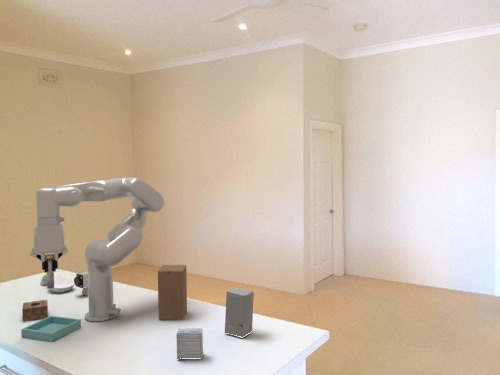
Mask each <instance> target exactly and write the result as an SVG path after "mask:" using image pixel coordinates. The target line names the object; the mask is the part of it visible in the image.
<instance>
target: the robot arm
mask: <svg viewBox="0 0 500 375" xmlns="http://www.w3.org/2000/svg"><path fill="white" fill-rule="evenodd" d="M35 198H36V199H35V200H36V204H35V205H36V224H37V225H34V230H33V247H32V249H31V251H30V253H29V254H30V256H31V257H33V258H36V259H38V260H40V262H41V270H42V271H44V273H45V274H47V273H46V272H47V265H46V259H45V255H46V254H54V256H55V258H53V268H54V273H55V272H56V271H57V269H59V266H58V265H59V262H58V260H59V259H60V258H61V257H62V256H63V255H65V254H68V253H69V250H68V247H67V246H66V244H65V233H64V227H63V224H62V223H61V222H64V221H65V217H61V216H60V214H61V213H60V211H61V210H60V207H76V206H78V205H79V204H81V203H82V202H96V203H97V202H107V201H111V200H117V199H124V198H132V199H131V203H130V206H131V207H130V212H129V214H128V215H126V217H125V218H123V219H122V220H121V221H120V222H118V223H117V224H116V225H114V226H113V227H112V228H111V229H110V230H109V231H108V233H107V239H101V238H96V239H93V240H90V242H88V243H87V244H86V246H85V249H84V257H85V262H86V266H87V269H86V270H88V296H87V297H88V298H87V299H88V312H86V313H85V314H84V319H85V320H87V321H89V322H103V321H109V320H111V319H113V318H116V317H117V316H119V315H120V314H121V312H122V308H118V307H117V306H116V303H114V274H113V273H114V272H113V266H117V265H119V264H120V263H122V262H123V261H124V260H126V258H127V257H129V256H130V255H132V254H133V252H135V251H136V250H137V249H138V248H139V247H140V245H141V243H142V242H143V238H144V234H143V231H142V230H143V228H144V227H145V226H146V223H147V216H148V215H147V214H148V213H147V212H149V213H157V212H160V211H162V209H163V208H164V206H165V198H164V197H163V195H162V194H161V193H160V192H158V190H157V189H155V187H154V186H152V185H150V184H149V183H148V182H147V181H145V180H144V179H142V178H141V177H137V176H135V177H134V176H133V177H132V176H131V177H130V176H123V177H116V178H110V179H109V178H108V179H102V180H95V181H89V182H81V183H73V184H64V185H58V186H56V187H40V188H38V189H37V190H36V191H35Z"/></svg>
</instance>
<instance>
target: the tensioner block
mask: <svg viewBox="0 0 500 375" xmlns="http://www.w3.org/2000/svg"><path fill="white" fill-rule="evenodd" d="M48 302H49V301H48V299H42V300H33V301H26V302H23V303H22V307H21V308H22V309H21V310H22V313H21V314H22V323H25V322H29V321H32V322H33V321H37V320H43V319H45V318H47V317H49V309H48V306H49V304H48Z"/></svg>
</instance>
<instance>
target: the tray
mask: <svg viewBox="0 0 500 375" xmlns="http://www.w3.org/2000/svg"><path fill="white" fill-rule="evenodd" d="M81 322H82V319H80V318H71V317H65V316H56V315H48V317H47V318H45V319H39V321H36V322H34V323H32V324H29V325H28V326H25V327H23V328H21V331H20V332H21V334H20V335H21V338H23V339H31V340H37V341H43V342H50V343H54V342H56V341H58V340H60V339H62V338H64V337H65V336H67V335H69V334H71V333H73V332H74V331H77V330H78V329H81V327H82V323H81Z"/></svg>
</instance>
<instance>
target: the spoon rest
mask: <svg viewBox="0 0 500 375" xmlns="http://www.w3.org/2000/svg"><path fill="white" fill-rule="evenodd" d="M40 279H41V280H40V285H39V286H40V287H42V286H47V273H45V274H44V275H42V277H41V278H40ZM74 286H75V284H74V280H71V279H68V278H66V277H63V276H61V275H59V274H57V273H54V288H50V289H49V290H50V291H51V292H53V293H55V294H56V293H57V294H61V293H66V292H68V291H70V290H71V289H72V288H74Z"/></svg>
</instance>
